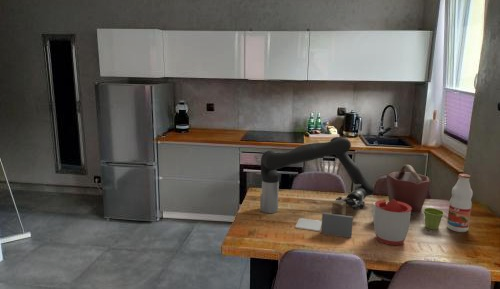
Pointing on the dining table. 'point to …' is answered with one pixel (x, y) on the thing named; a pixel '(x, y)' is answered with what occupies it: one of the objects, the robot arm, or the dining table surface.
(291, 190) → the dining table surface
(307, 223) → the grey pad
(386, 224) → the citrus juicer
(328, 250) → the dining table surface
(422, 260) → the dining table surface
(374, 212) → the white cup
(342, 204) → the walnut block
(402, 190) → the bucket
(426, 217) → the plant pot
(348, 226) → the charcoal board
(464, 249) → the dining table surface
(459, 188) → the fruit juice
